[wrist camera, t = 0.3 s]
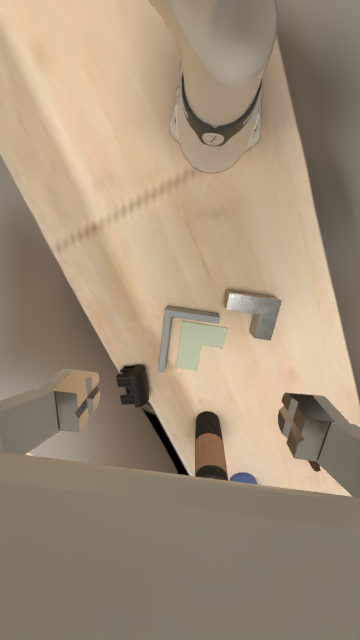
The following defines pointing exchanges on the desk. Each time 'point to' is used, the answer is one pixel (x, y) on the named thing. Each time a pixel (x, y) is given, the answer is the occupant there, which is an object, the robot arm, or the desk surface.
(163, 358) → the corner walls
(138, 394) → the end cap
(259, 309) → the bracket
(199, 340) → the mat
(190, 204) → the desk surface
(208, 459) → the travel mug
